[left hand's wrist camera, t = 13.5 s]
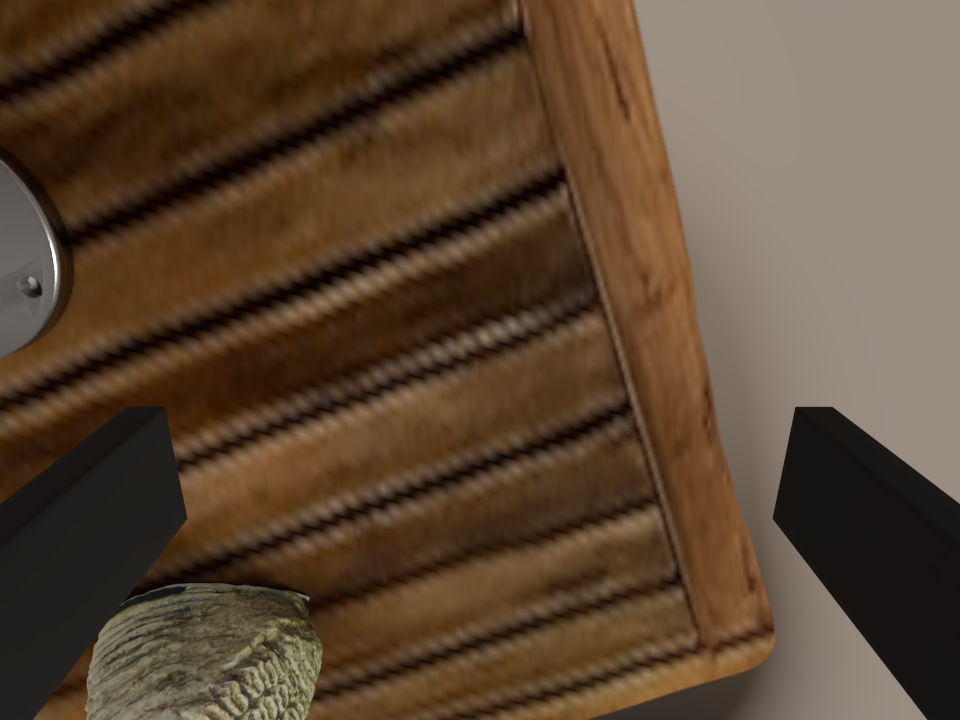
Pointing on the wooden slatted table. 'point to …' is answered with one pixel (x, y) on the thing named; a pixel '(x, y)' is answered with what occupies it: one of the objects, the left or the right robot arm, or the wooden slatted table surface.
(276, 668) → the fossil
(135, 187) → the wooden slatted table surface
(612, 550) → the wooden slatted table surface
